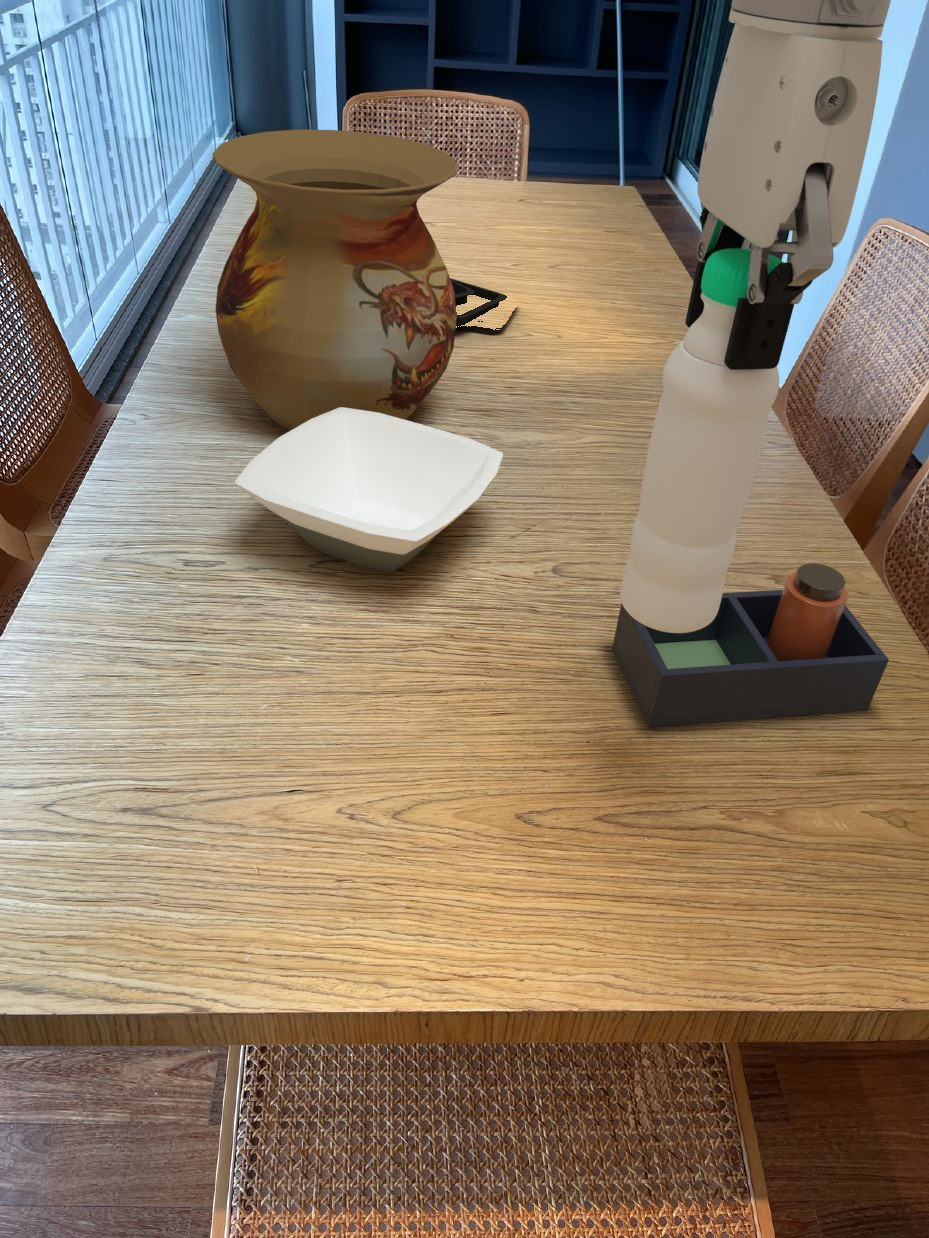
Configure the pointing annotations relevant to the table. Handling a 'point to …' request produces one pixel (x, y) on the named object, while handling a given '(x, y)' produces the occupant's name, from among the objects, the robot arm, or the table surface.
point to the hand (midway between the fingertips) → (729, 344)
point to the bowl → (369, 484)
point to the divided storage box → (743, 668)
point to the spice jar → (808, 613)
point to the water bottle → (698, 463)
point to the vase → (335, 274)
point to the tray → (461, 298)
